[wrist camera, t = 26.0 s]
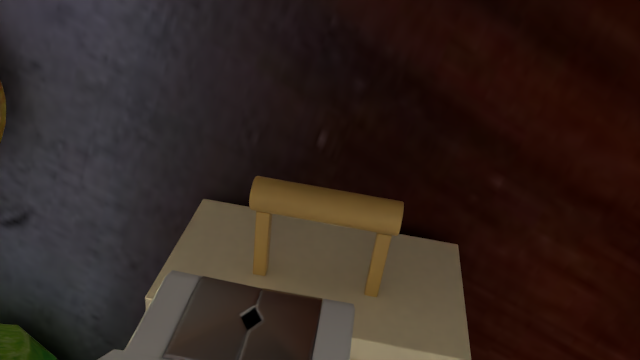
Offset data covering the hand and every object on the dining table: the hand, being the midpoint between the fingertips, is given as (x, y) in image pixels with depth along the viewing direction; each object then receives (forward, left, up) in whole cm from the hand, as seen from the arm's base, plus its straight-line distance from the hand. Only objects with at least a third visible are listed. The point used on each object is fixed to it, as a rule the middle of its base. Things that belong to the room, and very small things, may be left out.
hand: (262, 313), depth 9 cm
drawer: (0, +14, -16) cm, 21 cm away
